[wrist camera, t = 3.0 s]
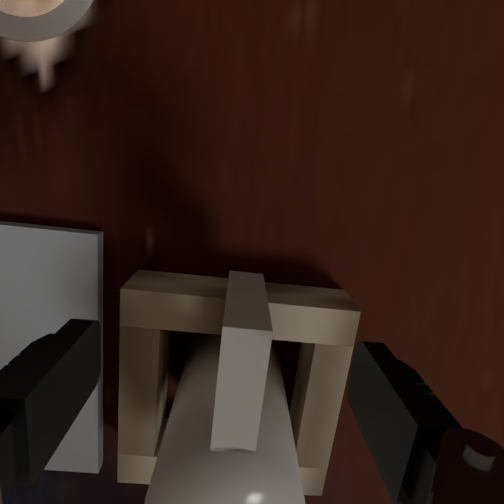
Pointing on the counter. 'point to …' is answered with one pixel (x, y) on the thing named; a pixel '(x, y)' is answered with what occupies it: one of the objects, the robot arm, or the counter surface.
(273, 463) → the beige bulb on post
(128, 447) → the frame
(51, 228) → the pad
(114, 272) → the counter surface
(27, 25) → the teacup and saucer
